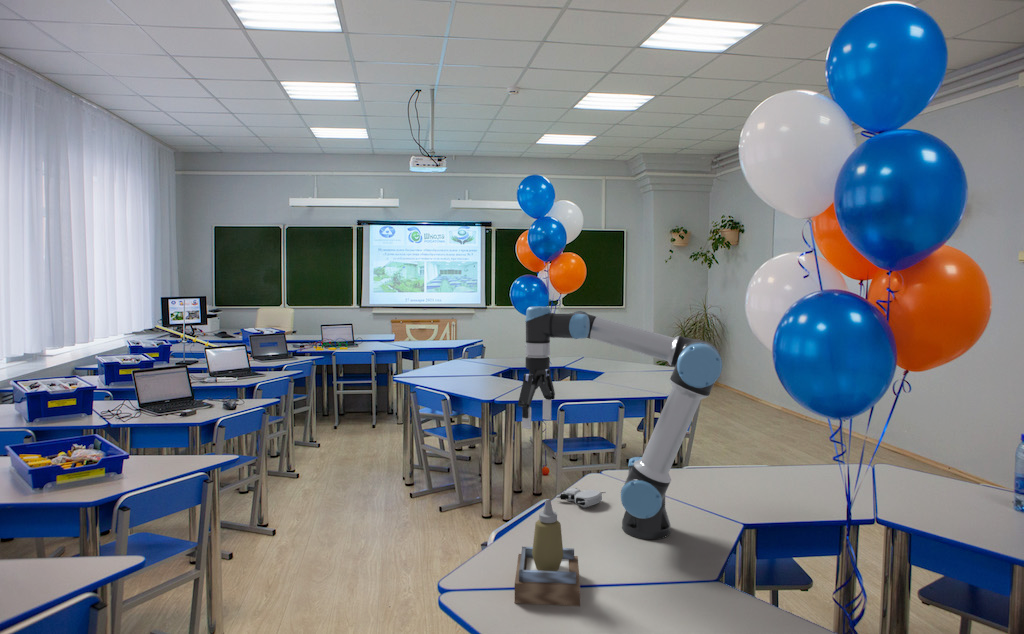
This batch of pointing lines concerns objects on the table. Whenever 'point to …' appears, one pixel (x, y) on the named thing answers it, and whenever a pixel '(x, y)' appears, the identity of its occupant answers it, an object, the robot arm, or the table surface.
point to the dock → (547, 581)
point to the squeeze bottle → (547, 540)
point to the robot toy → (582, 496)
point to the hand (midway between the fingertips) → (537, 423)
